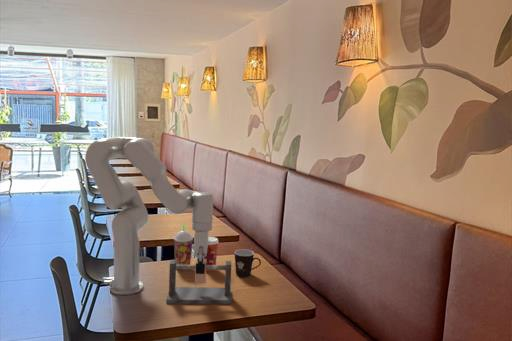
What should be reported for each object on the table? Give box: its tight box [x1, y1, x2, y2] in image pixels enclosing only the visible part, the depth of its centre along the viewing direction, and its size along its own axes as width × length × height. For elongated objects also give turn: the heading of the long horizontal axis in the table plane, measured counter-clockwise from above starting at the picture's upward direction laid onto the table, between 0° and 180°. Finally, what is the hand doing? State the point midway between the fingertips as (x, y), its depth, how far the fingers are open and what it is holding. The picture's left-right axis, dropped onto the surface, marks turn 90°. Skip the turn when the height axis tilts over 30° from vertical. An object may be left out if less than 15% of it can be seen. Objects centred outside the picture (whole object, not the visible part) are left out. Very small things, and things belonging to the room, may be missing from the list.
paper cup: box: [206, 236, 219, 272], centre depth 193 cm, size 8×8×14 cm
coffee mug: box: [234, 248, 262, 278], centre depth 188 cm, size 12×9×10 cm
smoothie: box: [173, 223, 194, 271], centre depth 192 cm, size 8×8×20 cm
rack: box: [166, 259, 232, 305], centre depth 164 cm, size 24×11×14 cm, turn 95°
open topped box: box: [194, 258, 207, 284], centre depth 164 cm, size 4×5×8 cm
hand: (200, 268), depth 164 cm, fingers open, 9 cm apart
